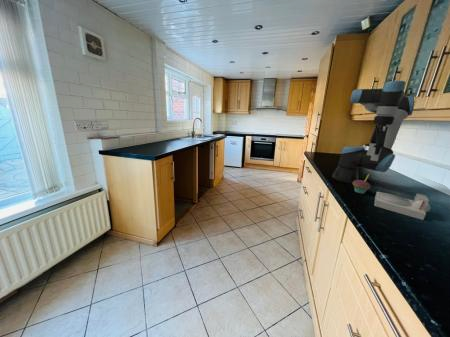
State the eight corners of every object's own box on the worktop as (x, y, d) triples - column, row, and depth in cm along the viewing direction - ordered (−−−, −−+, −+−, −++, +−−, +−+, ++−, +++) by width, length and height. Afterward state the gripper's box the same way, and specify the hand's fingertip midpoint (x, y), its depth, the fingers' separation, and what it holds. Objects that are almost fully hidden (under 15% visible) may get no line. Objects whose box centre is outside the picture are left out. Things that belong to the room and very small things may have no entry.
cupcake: (370, 193, 106) (376, 173, 102) (365, 196, 100) (372, 175, 97) (353, 187, 112) (358, 169, 108) (348, 190, 107) (353, 171, 103)
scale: (375, 196, 102) (379, 182, 99) (421, 208, 91) (428, 193, 88) (374, 205, 90) (379, 190, 87) (427, 221, 79) (435, 204, 76)
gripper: (371, 115, 101) (360, 152, 108) (380, 115, 81) (366, 161, 87) (388, 116, 98) (376, 154, 105) (402, 116, 77) (386, 164, 84)
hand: (371, 157), depth 96 cm, fingers open, 13 cm apart
